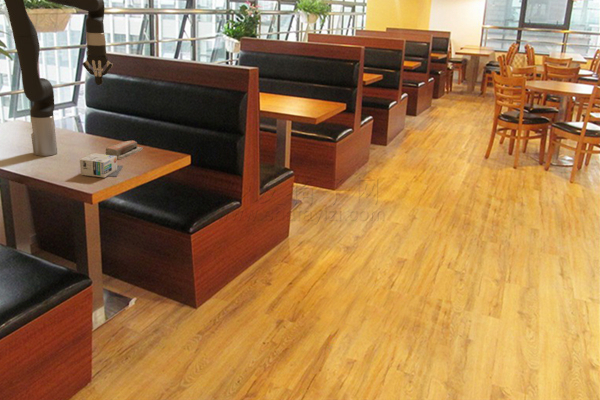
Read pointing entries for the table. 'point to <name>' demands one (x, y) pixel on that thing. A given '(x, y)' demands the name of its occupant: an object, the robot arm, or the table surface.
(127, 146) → the packaged product
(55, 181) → the table surface
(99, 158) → the light bulb box
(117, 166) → the mat
